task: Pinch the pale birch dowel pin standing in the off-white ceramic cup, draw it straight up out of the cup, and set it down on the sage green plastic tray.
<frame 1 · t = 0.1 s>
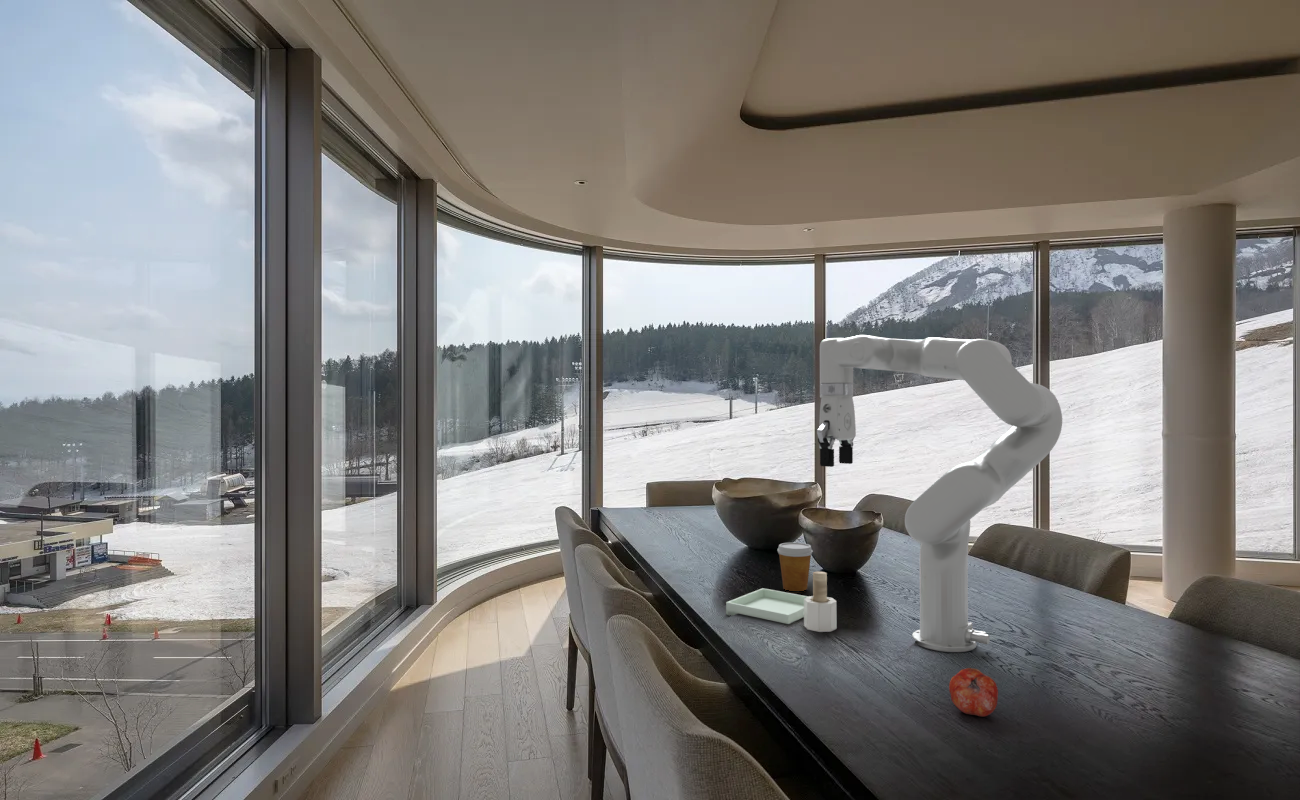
hand: (836, 464, 169), 37 cm above the table, tool pointing down, fingers open, 9 cm apart
wooden pin: (820, 626, 162), point 1 cm above the table, touching cup holder
red tomato: (973, 713, 120), on the table
cup holder: (820, 631, 162), on the table
disposable coffee cup: (795, 590, 199), on the table
tray: (774, 613, 177), on the table
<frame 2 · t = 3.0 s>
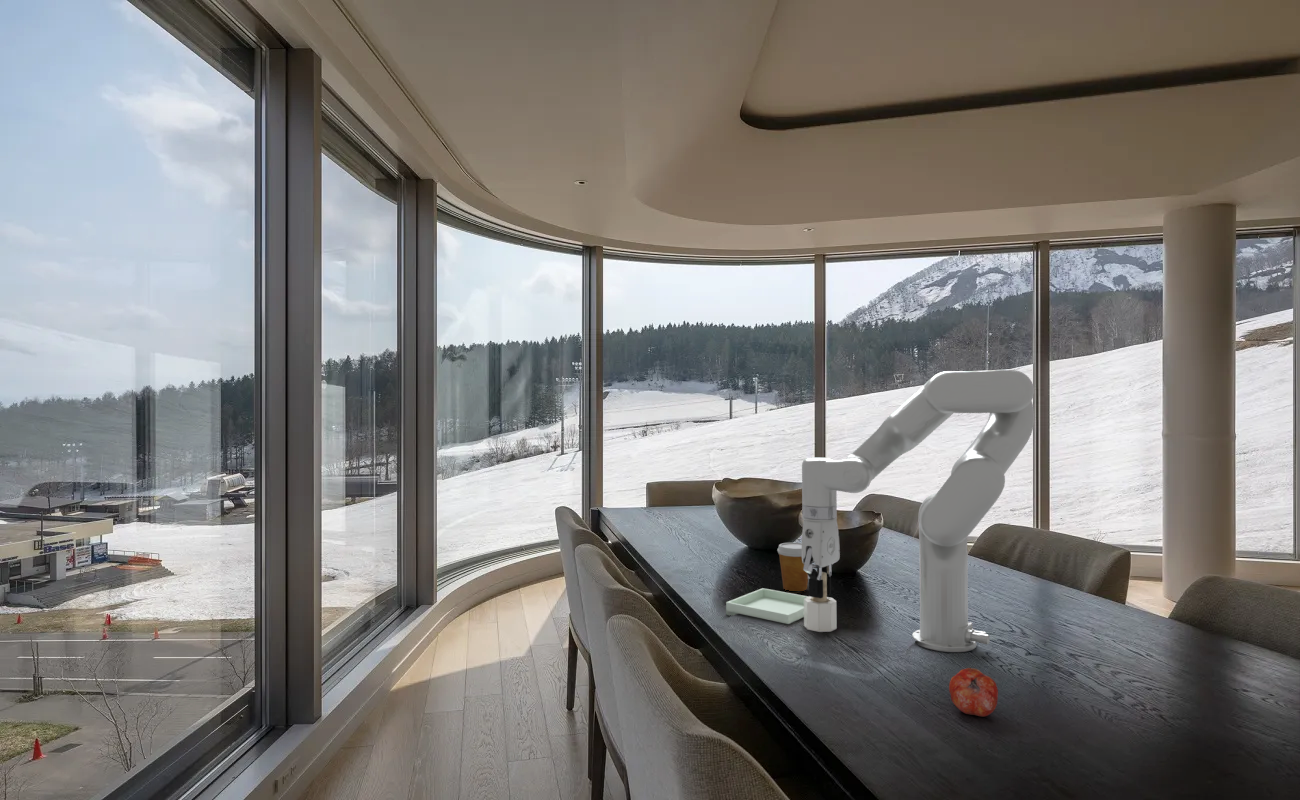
hand: (819, 594, 163), 8 cm above the table, tool pointing down, fingers closed on wooden pin, 3 cm apart
wooden pin: (820, 626, 162), point 1 cm above the table, touching cup holder, gripper
everything else where it was.
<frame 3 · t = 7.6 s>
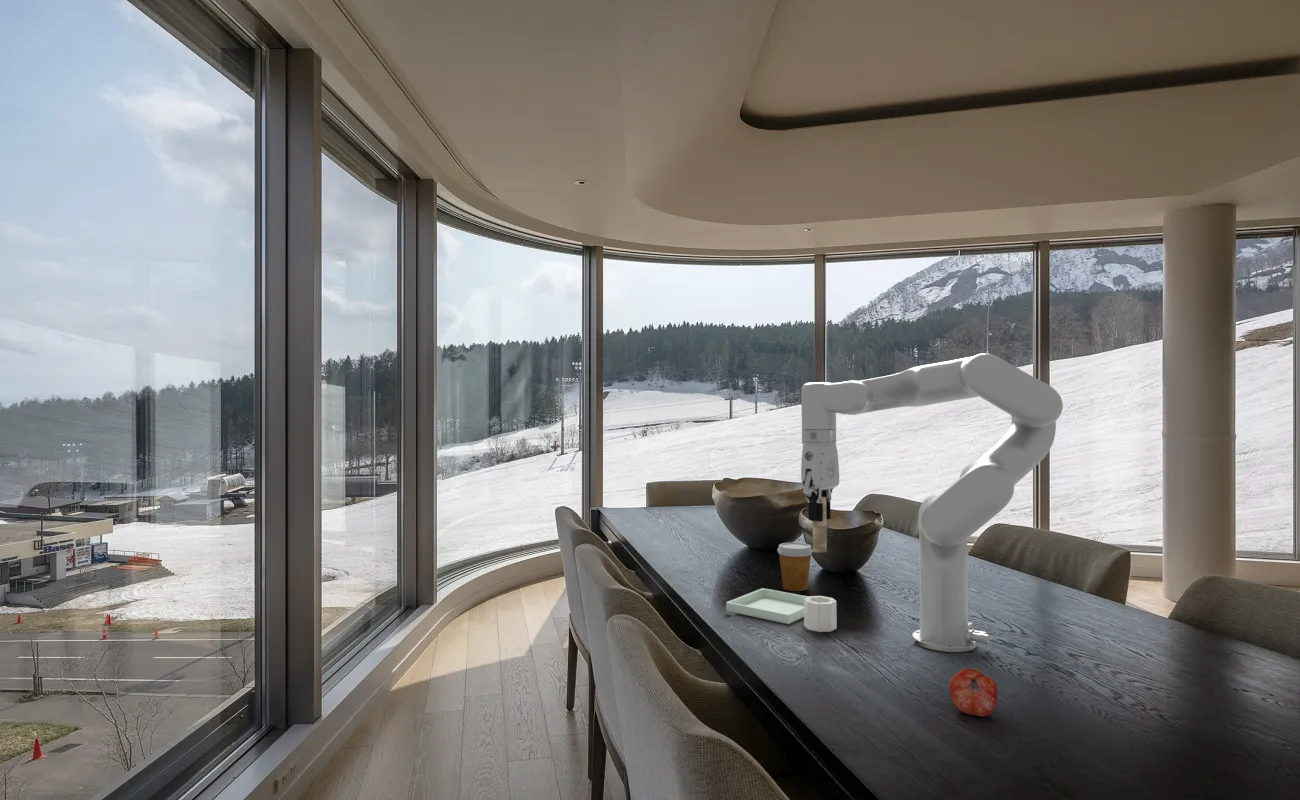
hand: (819, 518, 163), 25 cm above the table, tool pointing down, fingers closed on wooden pin, 3 cm apart
wooden pin: (819, 551, 163), point 18 cm above the table, touching gripper
everything else where it was.
when the fingers open (10 cm above the table, at t = 12.0 s): wooden pin drops 1 cm, resting on tray.
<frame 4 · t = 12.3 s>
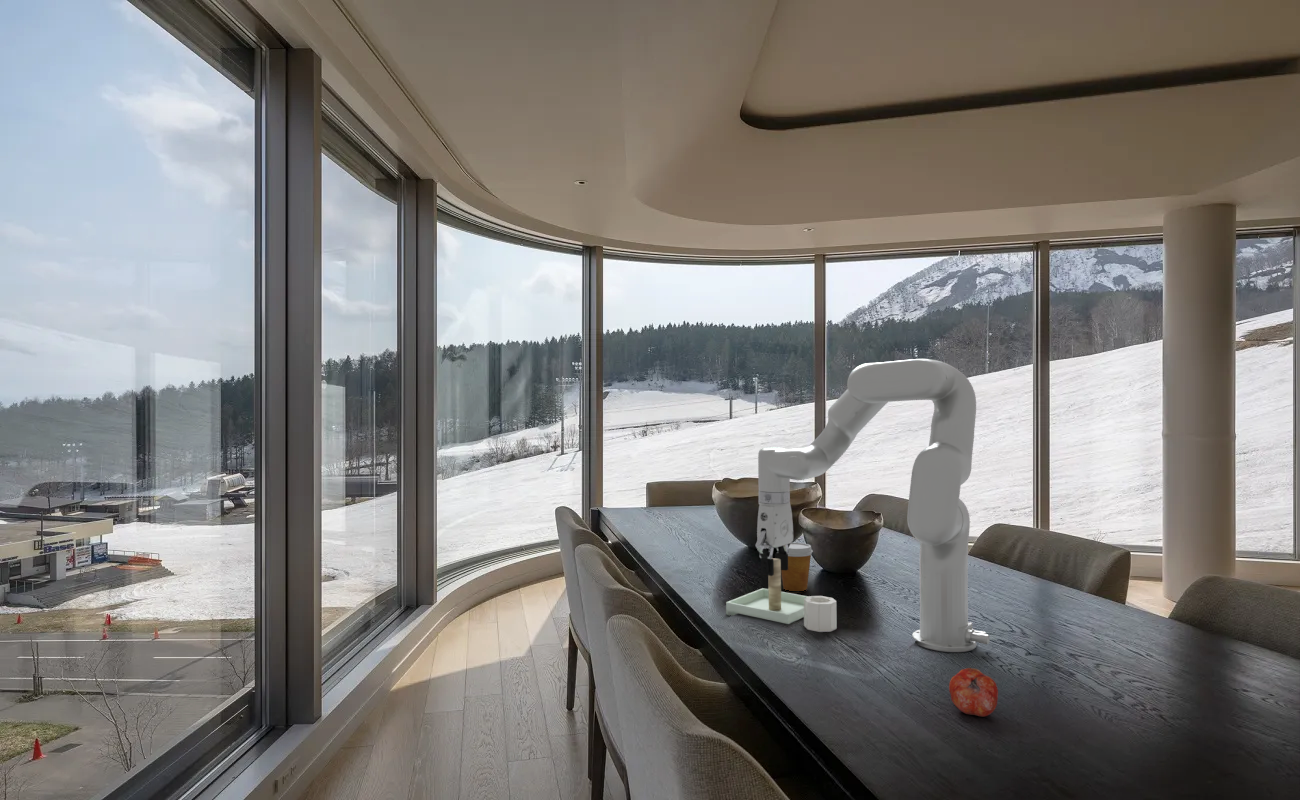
hand: (774, 571, 177), 10 cm above the table, tool pointing down, fingers open, 6 cm apart
wooden pin: (774, 608, 177), point 1 cm above the table, touching tray
everything else where it was.
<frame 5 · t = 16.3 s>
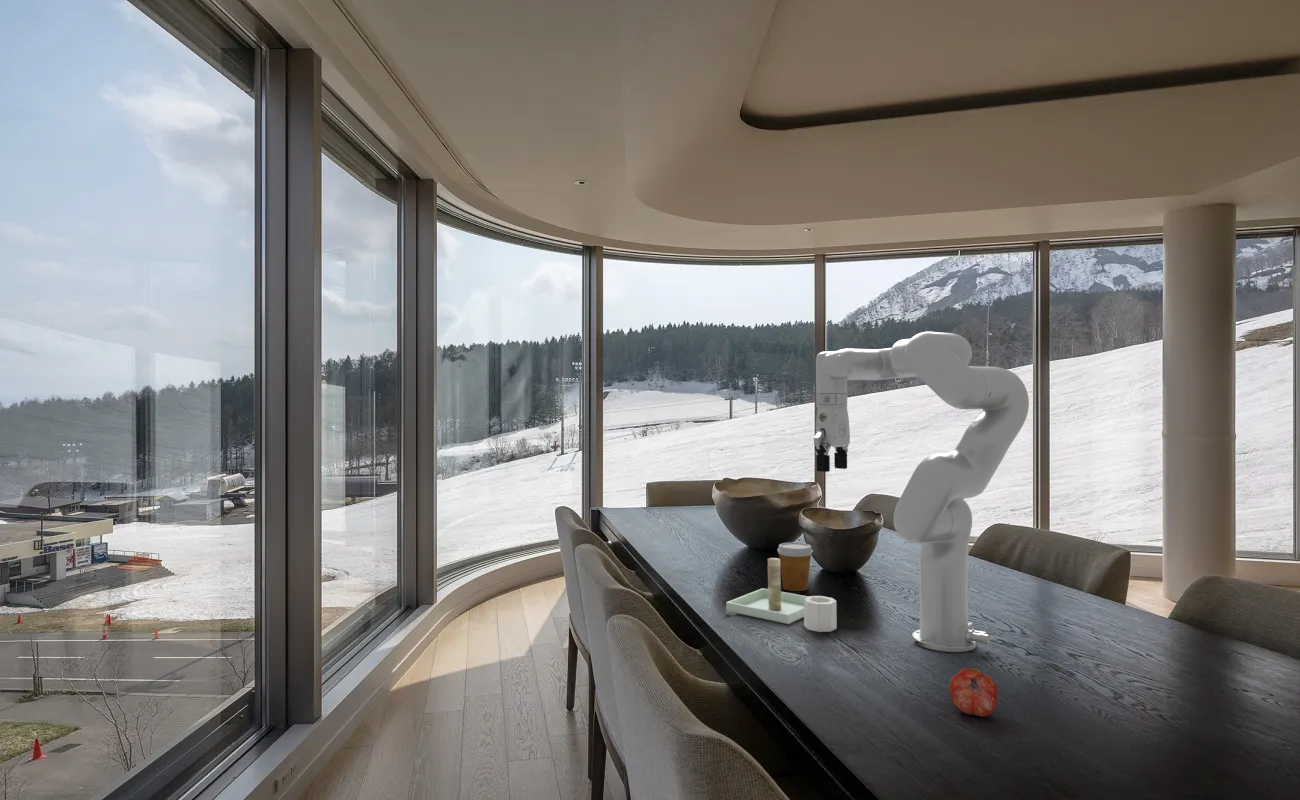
hand: (832, 469, 181), 34 cm above the table, tool pointing down, fingers open, 9 cm apart
nothing on the table moved.
at the end: wooden pin inside the target area on the tray (0.0 cm from its centre), point 1.0 cm above the tray's base; the gripper is holding nothing; wooden pin touching tray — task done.
